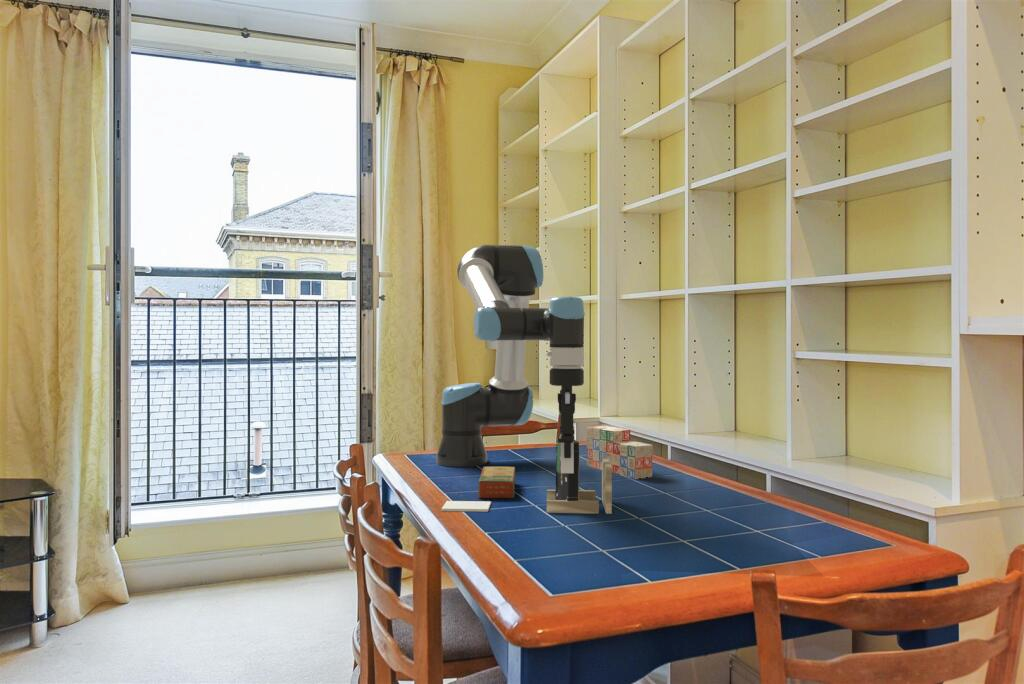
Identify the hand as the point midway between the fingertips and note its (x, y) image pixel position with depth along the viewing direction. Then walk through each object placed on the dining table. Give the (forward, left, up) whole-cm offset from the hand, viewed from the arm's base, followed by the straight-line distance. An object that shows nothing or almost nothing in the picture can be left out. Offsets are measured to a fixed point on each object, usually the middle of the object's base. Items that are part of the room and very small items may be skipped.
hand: (566, 468), depth 149 cm
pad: (+2, -22, -9) cm, 23 cm away
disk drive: (0, 0, -9) cm, 9 cm away
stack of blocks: (-39, +15, -9) cm, 43 cm away
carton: (-20, -17, -11) cm, 28 cm away
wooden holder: (0, +1, -9) cm, 9 cm away
